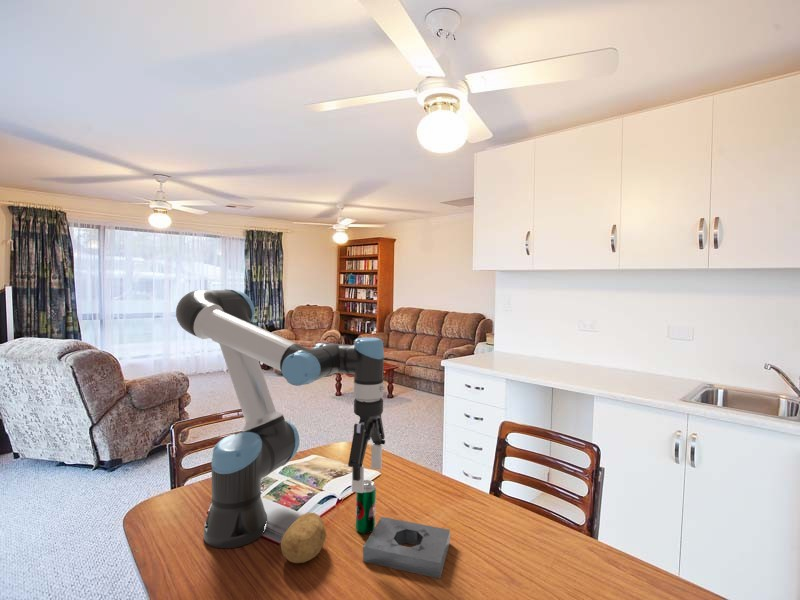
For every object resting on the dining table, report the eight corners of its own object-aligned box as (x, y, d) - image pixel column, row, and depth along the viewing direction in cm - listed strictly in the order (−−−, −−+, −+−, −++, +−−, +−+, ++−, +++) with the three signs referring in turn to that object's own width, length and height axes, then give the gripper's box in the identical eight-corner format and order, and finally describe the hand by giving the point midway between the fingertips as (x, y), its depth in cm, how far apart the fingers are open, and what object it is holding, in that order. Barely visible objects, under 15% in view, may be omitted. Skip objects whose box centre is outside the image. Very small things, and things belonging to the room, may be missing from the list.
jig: (362, 561, 95) (363, 546, 95) (381, 529, 108) (381, 516, 108) (440, 578, 90) (440, 563, 90) (449, 543, 103) (450, 529, 103)
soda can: (372, 536, 105) (373, 489, 105) (352, 533, 106) (354, 487, 106) (377, 525, 110) (378, 480, 109) (358, 522, 111) (359, 478, 110)
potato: (331, 537, 104) (331, 506, 104) (316, 577, 90) (317, 541, 90) (293, 535, 105) (293, 504, 104) (272, 574, 91) (273, 538, 90)
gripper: (364, 413, 94) (363, 505, 94) (396, 388, 118) (395, 461, 118) (334, 410, 96) (333, 500, 96) (371, 385, 120) (370, 458, 120)
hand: (367, 479), depth 107 cm, fingers open, 13 cm apart
